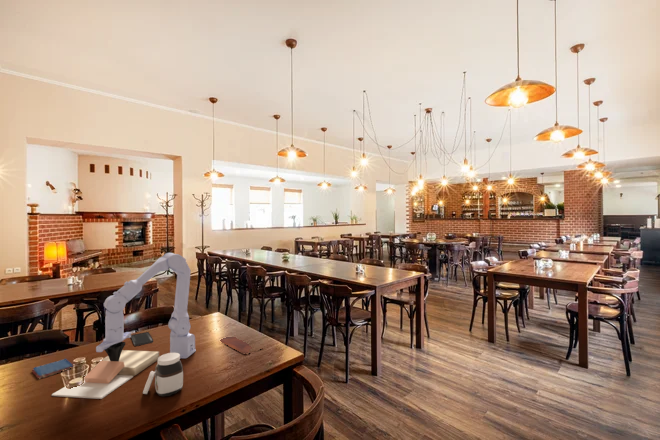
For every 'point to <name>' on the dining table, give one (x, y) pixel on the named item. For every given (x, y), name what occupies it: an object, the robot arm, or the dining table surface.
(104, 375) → the tile
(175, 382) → the spread jar
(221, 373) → the dining table surface
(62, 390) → the mat
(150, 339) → the phone
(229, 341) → the wooden tablet
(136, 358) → the block
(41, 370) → the woven mat
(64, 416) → the dining table surface
